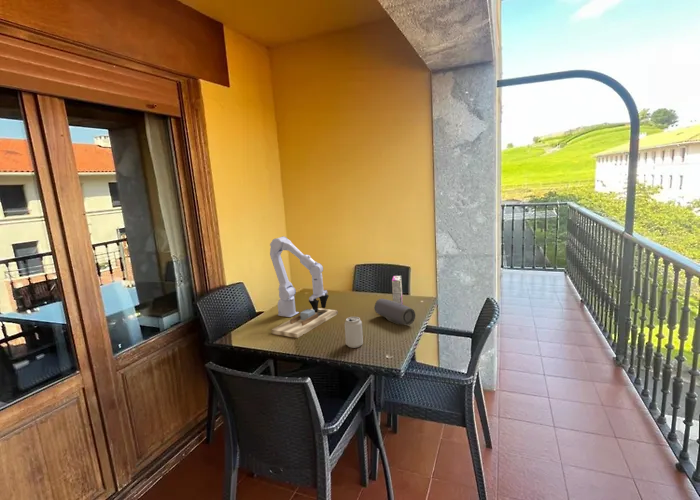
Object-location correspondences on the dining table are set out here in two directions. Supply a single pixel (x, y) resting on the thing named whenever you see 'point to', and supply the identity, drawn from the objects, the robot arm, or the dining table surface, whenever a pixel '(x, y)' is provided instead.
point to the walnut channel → (304, 320)
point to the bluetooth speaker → (395, 312)
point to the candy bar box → (397, 289)
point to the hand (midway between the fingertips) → (319, 309)
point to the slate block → (307, 314)
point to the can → (353, 332)
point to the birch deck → (299, 330)
